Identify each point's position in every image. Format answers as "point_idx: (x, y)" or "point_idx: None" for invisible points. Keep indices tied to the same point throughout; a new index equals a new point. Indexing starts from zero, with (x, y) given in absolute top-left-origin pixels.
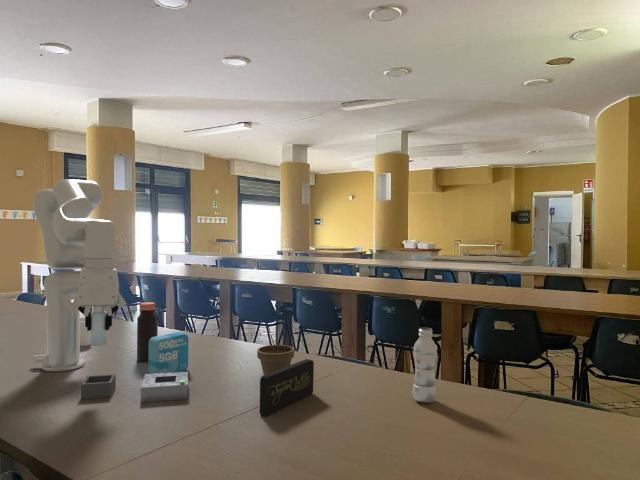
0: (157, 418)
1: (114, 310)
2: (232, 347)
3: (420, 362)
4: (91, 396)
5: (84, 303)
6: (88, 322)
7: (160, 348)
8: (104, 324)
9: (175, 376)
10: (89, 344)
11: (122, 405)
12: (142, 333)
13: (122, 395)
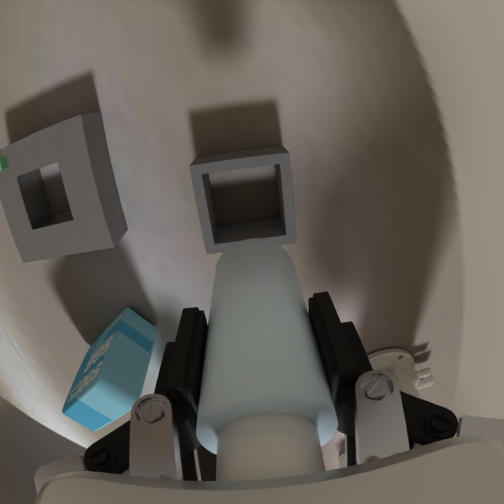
0: (47, 23)
1: (116, 440)
2: (84, 433)
3: None
4: (252, 149)
5: (445, 465)
6: (334, 331)
7: (100, 364)
8: (208, 340)
9: (34, 228)
10: (342, 454)
11: (142, 89)
12: (211, 457)
13: (167, 169)
